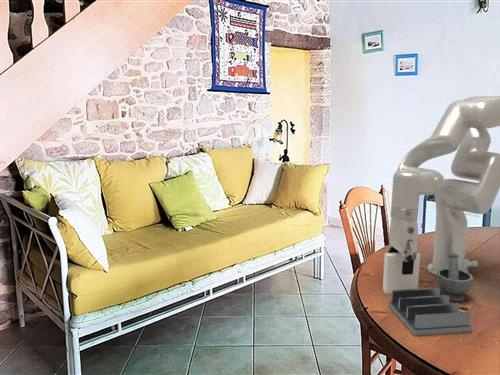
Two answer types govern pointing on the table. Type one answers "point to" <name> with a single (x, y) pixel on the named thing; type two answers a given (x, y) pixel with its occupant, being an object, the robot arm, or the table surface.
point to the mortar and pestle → (454, 280)
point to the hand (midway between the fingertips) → (399, 267)
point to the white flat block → (399, 273)
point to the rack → (428, 312)
